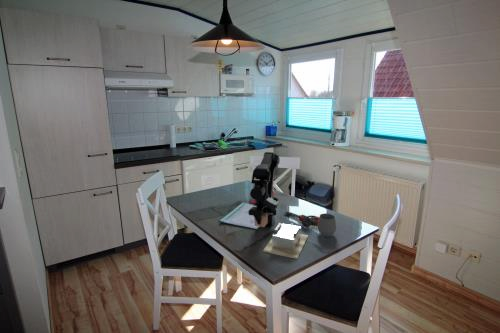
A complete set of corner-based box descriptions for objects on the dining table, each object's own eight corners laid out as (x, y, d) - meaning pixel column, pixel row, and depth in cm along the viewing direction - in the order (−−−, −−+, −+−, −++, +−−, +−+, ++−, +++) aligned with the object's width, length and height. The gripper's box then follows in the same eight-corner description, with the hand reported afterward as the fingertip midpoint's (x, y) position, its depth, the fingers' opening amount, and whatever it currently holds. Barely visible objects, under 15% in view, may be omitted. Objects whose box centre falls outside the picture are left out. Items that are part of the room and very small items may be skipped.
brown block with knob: (258, 221, 151) (258, 209, 149) (267, 223, 149) (267, 210, 148) (254, 225, 147) (254, 213, 145) (264, 227, 145) (264, 214, 143)
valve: (331, 227, 164) (314, 232, 154) (295, 215, 183) (279, 218, 174) (332, 216, 163) (315, 220, 153) (296, 205, 183) (280, 207, 173)
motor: (282, 231, 153) (282, 218, 151) (302, 235, 149) (302, 221, 148) (271, 247, 138) (272, 232, 136) (293, 251, 134) (294, 236, 132)
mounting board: (277, 231, 156) (277, 229, 155) (308, 236, 149) (308, 235, 149) (263, 251, 136) (263, 250, 136) (297, 259, 130) (297, 257, 130)
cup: (321, 228, 158) (322, 211, 156) (338, 233, 152) (339, 215, 150) (313, 235, 151) (314, 217, 149) (330, 240, 145) (332, 222, 143)
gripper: (270, 201, 132) (270, 233, 136) (282, 189, 149) (282, 217, 153) (247, 198, 137) (248, 229, 141) (262, 186, 153) (262, 214, 157)
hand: (261, 222), depth 148 cm, fingers closed on brown block with knob, 5 cm apart
